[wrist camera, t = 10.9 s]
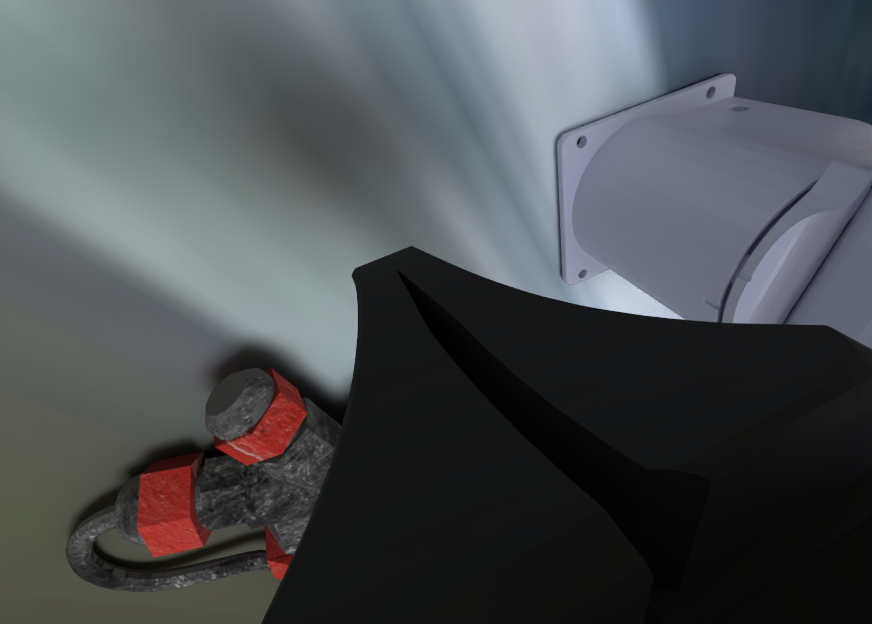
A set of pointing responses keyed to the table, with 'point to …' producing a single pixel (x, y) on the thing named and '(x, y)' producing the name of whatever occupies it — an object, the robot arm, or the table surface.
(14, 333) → the table surface
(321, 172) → the table surface
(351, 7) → the table surface
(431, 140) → the table surface
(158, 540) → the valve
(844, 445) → the robot arm
